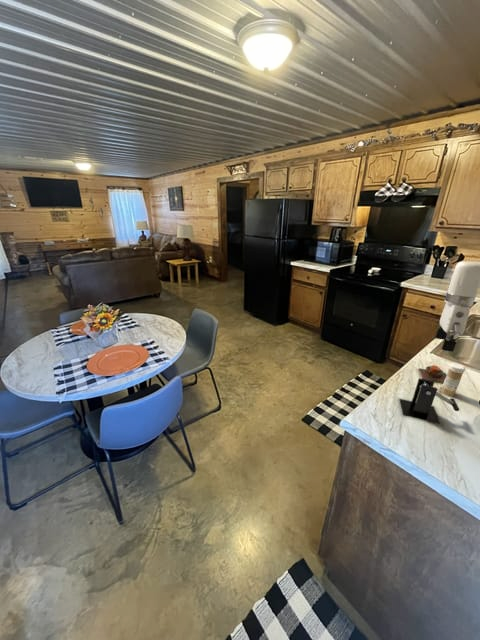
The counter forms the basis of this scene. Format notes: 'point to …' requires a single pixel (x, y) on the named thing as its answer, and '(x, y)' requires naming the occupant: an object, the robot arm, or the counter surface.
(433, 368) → the button
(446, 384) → the sprinkles bottle
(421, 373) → the button block
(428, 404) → the bracket
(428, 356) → the counter surface
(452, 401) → the lever
